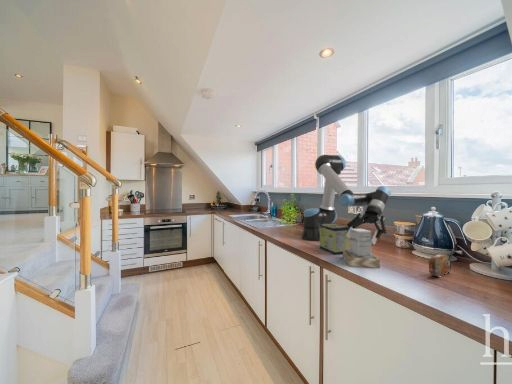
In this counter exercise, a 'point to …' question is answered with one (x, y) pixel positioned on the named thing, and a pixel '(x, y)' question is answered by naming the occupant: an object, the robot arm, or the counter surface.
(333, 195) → the robot arm
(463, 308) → the counter surface
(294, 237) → the counter surface
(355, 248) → the supplement box
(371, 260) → the brown shallow tray
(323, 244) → the protein box
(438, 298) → the counter surface
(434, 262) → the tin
